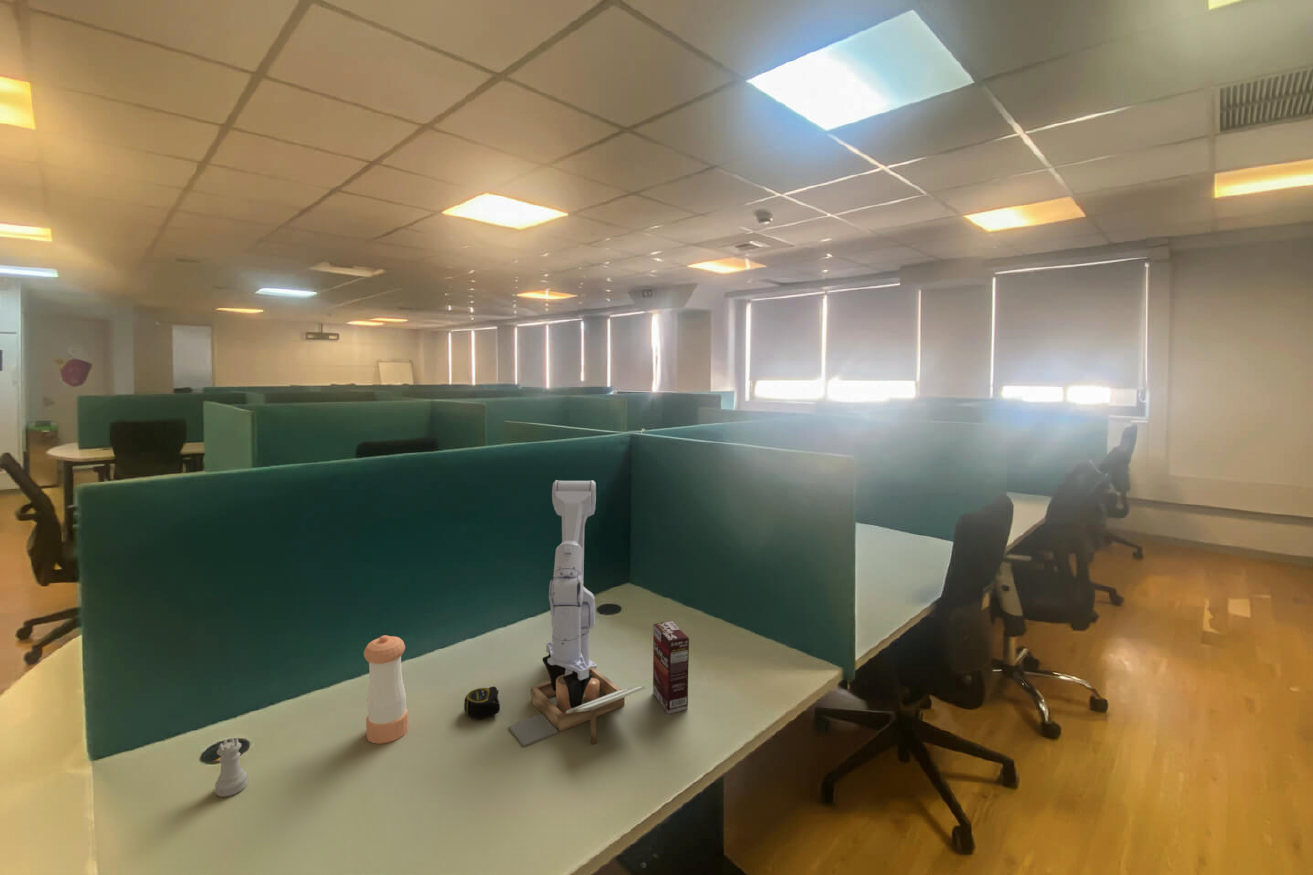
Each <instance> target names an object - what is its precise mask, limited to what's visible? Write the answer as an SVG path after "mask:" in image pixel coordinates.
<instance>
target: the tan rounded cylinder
mask: <svg viewBox="0 0 1313 875" xmlns="http://www.w3.org/2000/svg"><path fill="white" fill-rule="evenodd" d="M598 698H600V689H599V680H598V679H595V678H591V679H590V681H589V683H588V685H587V687H586V689H585V692H584V696H583V699H584V700H585V701H586V702H590V701H593V700H595V699H598Z"/></svg>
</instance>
